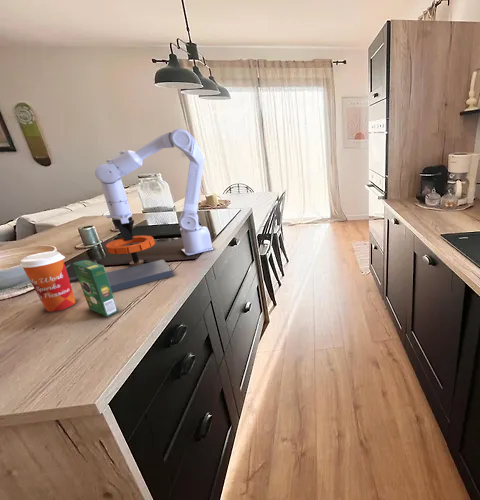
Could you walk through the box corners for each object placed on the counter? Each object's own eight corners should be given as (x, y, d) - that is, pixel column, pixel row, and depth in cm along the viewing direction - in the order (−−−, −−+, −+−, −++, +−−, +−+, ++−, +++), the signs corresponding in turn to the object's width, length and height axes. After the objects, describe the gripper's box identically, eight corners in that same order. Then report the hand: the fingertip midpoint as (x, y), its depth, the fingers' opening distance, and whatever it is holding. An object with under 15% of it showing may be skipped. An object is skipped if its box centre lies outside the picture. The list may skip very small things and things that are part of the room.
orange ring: (150, 238, 106) (149, 233, 106) (158, 247, 98) (156, 241, 97) (106, 246, 98) (104, 241, 98) (110, 257, 89) (108, 251, 89)
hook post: (142, 260, 103) (137, 241, 100) (144, 263, 100) (139, 244, 98) (129, 263, 100) (123, 243, 98) (130, 267, 98) (124, 246, 95)
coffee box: (120, 311, 72) (104, 264, 67) (107, 317, 70) (89, 268, 65) (102, 304, 75) (85, 258, 71) (89, 310, 73) (71, 262, 68)
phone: (46, 281, 85) (68, 263, 98) (48, 285, 85) (69, 266, 98) (80, 276, 88) (97, 259, 101) (81, 280, 88) (98, 262, 101)
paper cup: (34, 317, 70) (10, 264, 65) (47, 302, 76) (26, 253, 71) (76, 308, 73) (56, 258, 68) (85, 295, 80) (67, 248, 75)
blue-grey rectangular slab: (164, 264, 100) (163, 259, 99) (173, 275, 91) (172, 270, 91) (106, 278, 90) (104, 272, 89) (110, 292, 81) (107, 286, 81)
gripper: (100, 199, 99) (112, 237, 104) (103, 206, 89) (116, 247, 94) (125, 197, 103) (135, 232, 108) (131, 202, 93) (142, 242, 98)
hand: (128, 239), depth 101 cm, fingers closed on orange ring, 2 cm apart
